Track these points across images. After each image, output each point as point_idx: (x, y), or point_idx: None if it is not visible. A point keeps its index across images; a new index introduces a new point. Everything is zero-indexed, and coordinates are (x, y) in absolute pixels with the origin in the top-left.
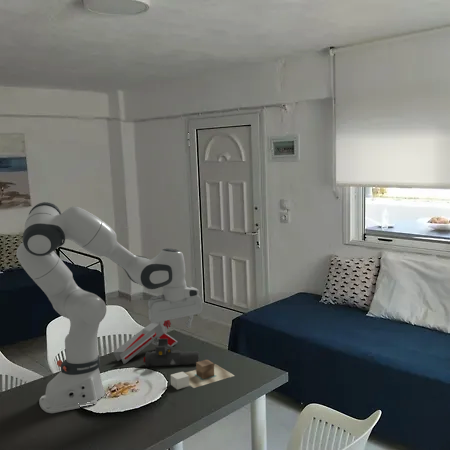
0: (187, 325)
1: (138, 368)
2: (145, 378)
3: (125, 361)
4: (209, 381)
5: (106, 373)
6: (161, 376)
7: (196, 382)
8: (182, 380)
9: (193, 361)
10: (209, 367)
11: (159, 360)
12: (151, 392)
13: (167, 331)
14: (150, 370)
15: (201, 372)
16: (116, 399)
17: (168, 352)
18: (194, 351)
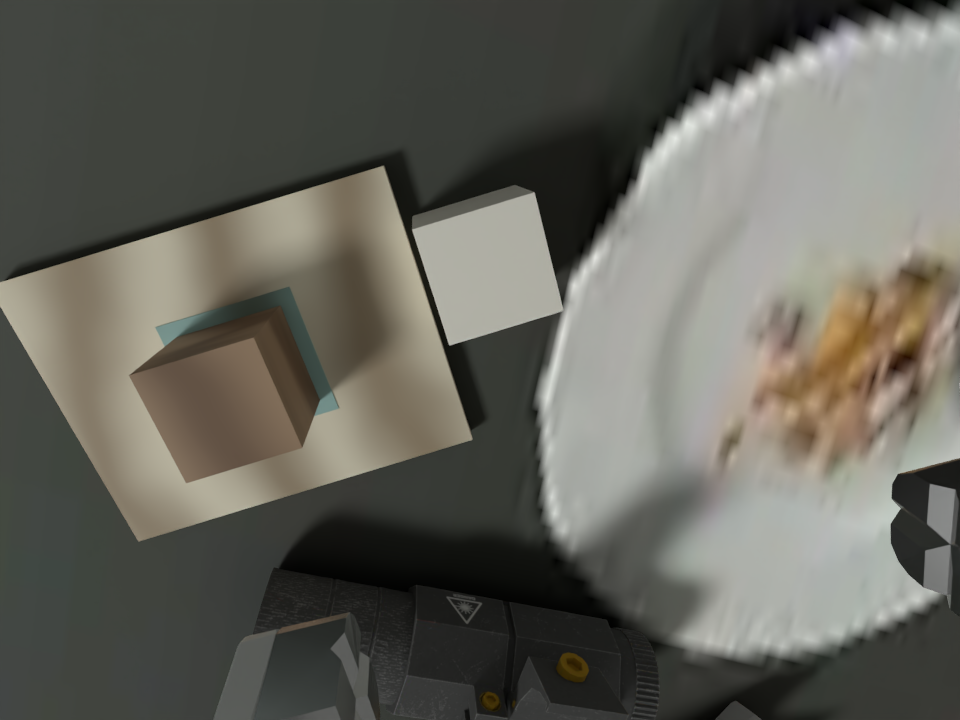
0: (346, 664)
1: (672, 628)
2: (670, 479)
3: (733, 717)
4: (233, 247)
5: (862, 608)
6: (563, 479)
7: (344, 263)
8: (476, 206)
9: (309, 584)
10: (189, 351)
11: (560, 636)
12: (690, 250)
13: (909, 473)
14: (609, 584)
15: (278, 340)
16: (931, 222)
17: (494, 691)
18: None
